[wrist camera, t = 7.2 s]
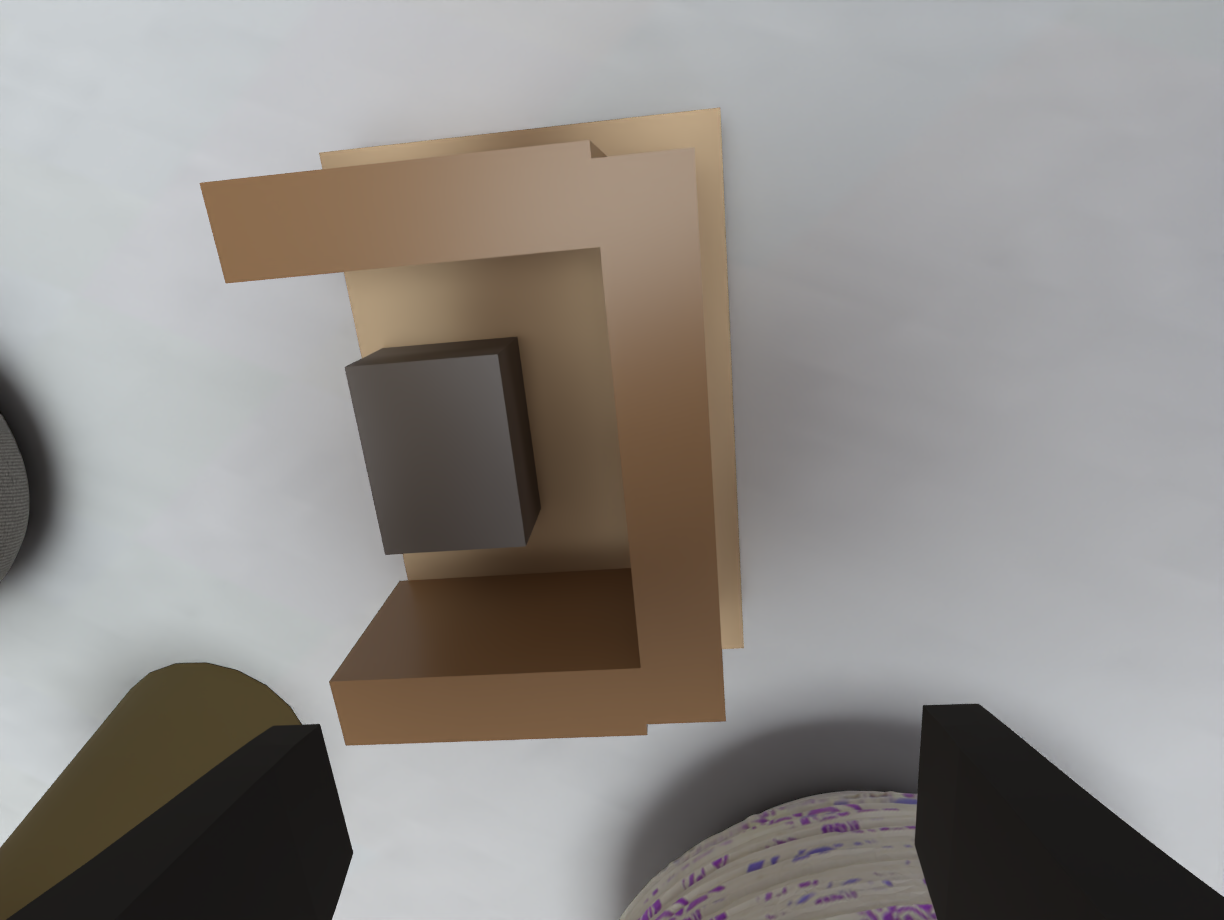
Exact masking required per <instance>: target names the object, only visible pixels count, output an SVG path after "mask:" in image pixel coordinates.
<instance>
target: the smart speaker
mask: <svg viewBox="0 0 1224 920" xmlns="http://www.w3.org/2000/svg"><path fill="white" fill-rule="evenodd" d="M29 507H30V500H29V485H28V479H27V474H26V469H25V466H24V462H23V458H22V455H21V452H20V450H19V447H18V445H17V443H16V440H15V438H14V436H13V434H12V432H11V430H10V428H9V426H8V424H7V422H6V421H5V419H4V417H3V415H2V414H1V412H0V582H1V581H2V580H3V578H4V577H5V575H6V574H7V572H8V571H9V569H10V567H11V565H12V564H13V562H14V560H15V558H16V556H17V554H18V551H19V549H20V547H21V544H22V542H23V539H24V537H25V533H26V529H27V524H28V518H29Z"/></svg>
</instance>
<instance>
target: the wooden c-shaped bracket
mask: <svg viewBox="0 0 1224 920" xmlns="http://www.w3.org/2000/svg"><path fill="white" fill-rule="evenodd" d="M200 186H201V190H202V194H203V198H204V202H205V206H206V209H207V213H208V217H209V221H210V225H211V229H212V233H213V236H214V240H215V244H216V248H217V252H218V256H219V259H220V263H221V267H222V271H223V275H224V279H225V283H234V282H245V281H255V280H265V279H276V278H286V277H296V276H307V275H317V274H327V273H338V272H348V271H358V270H369V269H379V268H389V267H400V266H410V265H420V264H431V263H441V262H451V261H462V260H472V259H482V258H493V257H503V256H513V255H524V254H534V253H544V252H555V251H565V250H575V249H586V248H596V247H600V254H601V264H602V274H603V284H604V295H605V305H606V315H607V326H608V336H609V346H610V357H611V367H612V377H613V387H614V398H615V408H616V418H617V429H618V439H619V449H620V459H621V470H622V480H623V490H624V501H625V511H626V521H627V531H628V542H629V552H630V562H631V568H622V569H604V570H586V571H568V572H550V573H532V574H515V575H497V576H479V577H461V578H443V579H425V580H407V581H399V583H398V584H397V586H396V587H395V588H394V590H393V591H392V593H391V594H390V596H389V597H388V598H387V600H386V601H385V603H384V604H383V606H382V607H381V608H380V610H379V611H378V613H377V614H376V616H375V617H374V618H373V620H372V621H371V623H370V624H369V626H368V627H367V628H366V630H365V631H364V633H363V634H362V636H361V637H360V638H359V640H358V641H357V643H356V644H355V646H354V647H353V648H352V650H351V651H350V653H349V654H348V656H347V657H346V658H345V660H344V661H343V663H342V664H341V666H340V667H339V668H338V670H337V671H336V673H335V674H334V676H333V677H332V678H331V680H330V681H329V683H330V686H331V690H332V694H333V698H334V702H335V706H336V710H337V713H338V717H339V721H340V725H341V729H342V733H343V736H344V740H345V744H346V745H375V744H403V743H432V742H461V741H489V740H518V739H547V738H576V737H604V736H633V735H647V727H648V724H666V723H693V722H721V721H726V716H725V698H724V679H723V661H722V643H721V625H720V606H719V588H718V570H717V552H716V533H715V515H714V497H713V479H712V460H711V442H710V424H709V406H708V387H707V369H706V351H705V332H704V314H703V296H702V278H701V259H700V241H699V223H698V205H697V186H696V168H695V150H694V147H692V148H683V149H674V150H665V151H655V152H646V153H637V154H628V155H618V156H609V157H608V156H606V155H605V154H604V153H603V152H602V151H601V150H600V149H599V148H598V147H597V146H596V145H594V144H593V143H592V142H591V141H590V140H584V141H575V142H566V143H557V144H548V145H539V146H530V147H521V148H512V149H503V150H494V151H484V152H475V153H466V154H457V155H448V156H439V157H430V158H421V159H412V160H403V161H394V162H385V163H376V164H367V165H358V166H349V167H340V168H331V169H322V170H313V171H303V172H294V173H285V174H276V175H267V176H258V177H249V178H240V179H231V180H222V181H213V182H204V183H200Z"/></svg>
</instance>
